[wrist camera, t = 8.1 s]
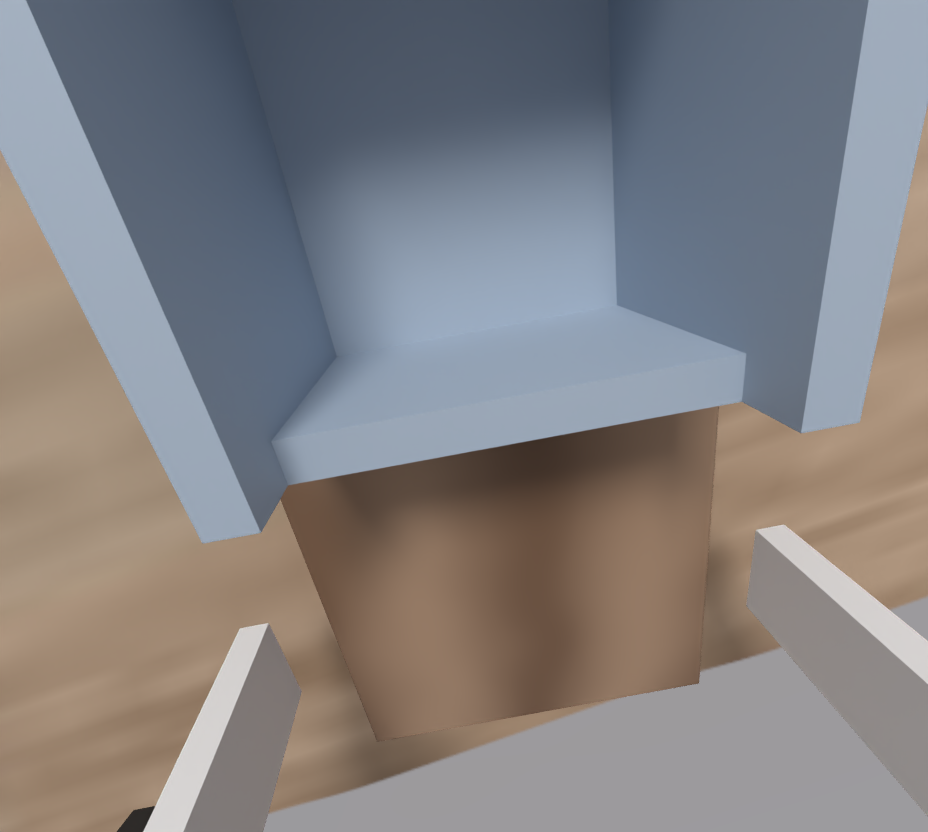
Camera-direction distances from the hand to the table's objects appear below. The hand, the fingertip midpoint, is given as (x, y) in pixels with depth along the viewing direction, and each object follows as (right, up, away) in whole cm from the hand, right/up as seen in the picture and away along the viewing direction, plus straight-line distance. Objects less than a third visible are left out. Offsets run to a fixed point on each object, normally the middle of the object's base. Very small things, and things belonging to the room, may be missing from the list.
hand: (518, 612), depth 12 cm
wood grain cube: (0, +1, +3) cm, 4 cm away
